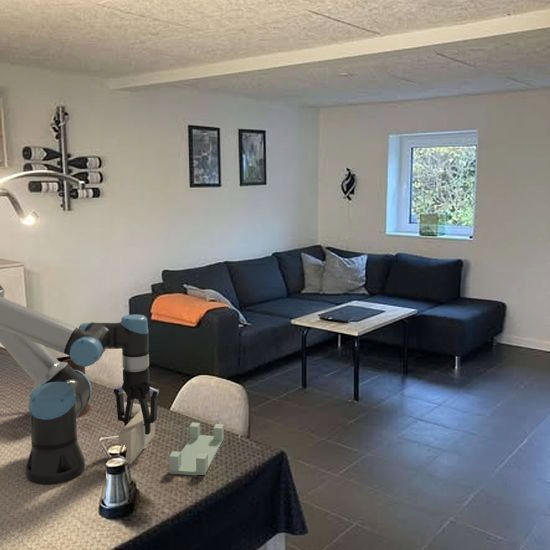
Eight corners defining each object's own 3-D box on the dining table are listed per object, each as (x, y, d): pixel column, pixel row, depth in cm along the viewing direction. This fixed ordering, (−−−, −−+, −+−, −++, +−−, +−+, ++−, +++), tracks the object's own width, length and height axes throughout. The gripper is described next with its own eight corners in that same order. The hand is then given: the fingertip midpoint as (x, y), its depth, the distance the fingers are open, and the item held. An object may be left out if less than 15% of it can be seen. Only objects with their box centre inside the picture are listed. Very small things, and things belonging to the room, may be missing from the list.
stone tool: (154, 416, 201) (130, 407, 212) (154, 407, 201) (130, 398, 211) (134, 421, 195) (110, 412, 206) (133, 412, 195) (110, 403, 206)
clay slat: (131, 464, 167) (130, 434, 166) (119, 463, 168) (118, 433, 166) (155, 434, 187) (154, 407, 185) (144, 433, 187) (143, 406, 186)
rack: (205, 476, 161) (205, 458, 160) (169, 473, 162) (169, 456, 161) (223, 439, 183) (223, 424, 182) (192, 437, 184) (192, 422, 184)
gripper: (167, 365, 176) (169, 440, 179) (113, 362, 178) (116, 436, 182) (159, 373, 168) (161, 451, 172) (103, 370, 171) (105, 447, 174)
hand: (138, 443), depth 177 cm, fingers open, 4 cm apart
